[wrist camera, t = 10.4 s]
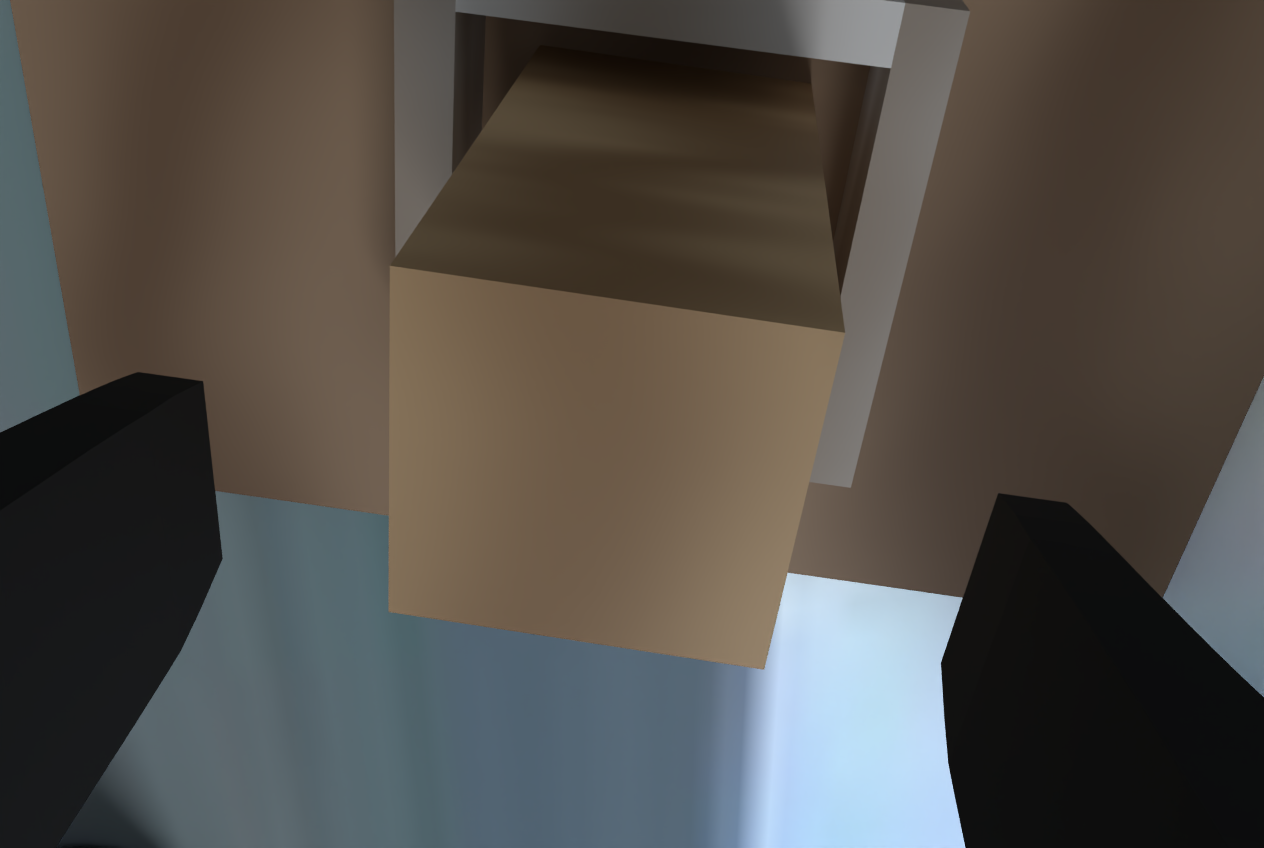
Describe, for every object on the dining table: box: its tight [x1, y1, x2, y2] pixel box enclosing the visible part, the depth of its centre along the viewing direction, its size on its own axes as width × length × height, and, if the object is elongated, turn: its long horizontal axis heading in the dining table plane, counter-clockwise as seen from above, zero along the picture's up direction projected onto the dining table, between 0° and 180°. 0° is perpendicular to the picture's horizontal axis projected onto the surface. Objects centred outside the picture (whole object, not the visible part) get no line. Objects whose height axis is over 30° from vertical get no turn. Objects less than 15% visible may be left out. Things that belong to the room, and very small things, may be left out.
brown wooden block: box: [389, 45, 845, 669], centre depth 14 cm, size 4×4×8 cm
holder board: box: [10, 0, 1264, 598], centre depth 17 cm, size 20×14×3 cm
